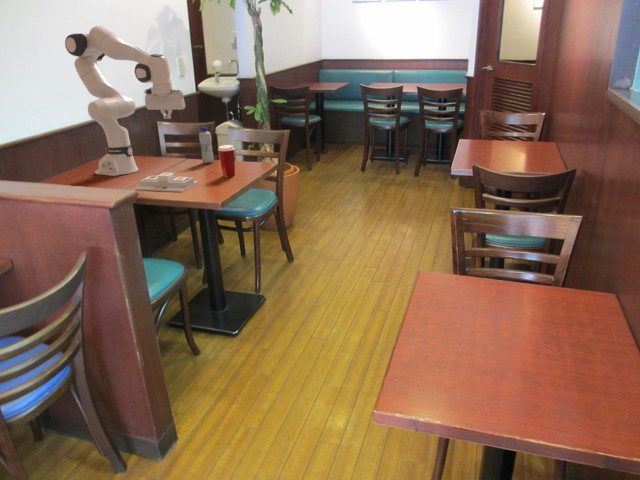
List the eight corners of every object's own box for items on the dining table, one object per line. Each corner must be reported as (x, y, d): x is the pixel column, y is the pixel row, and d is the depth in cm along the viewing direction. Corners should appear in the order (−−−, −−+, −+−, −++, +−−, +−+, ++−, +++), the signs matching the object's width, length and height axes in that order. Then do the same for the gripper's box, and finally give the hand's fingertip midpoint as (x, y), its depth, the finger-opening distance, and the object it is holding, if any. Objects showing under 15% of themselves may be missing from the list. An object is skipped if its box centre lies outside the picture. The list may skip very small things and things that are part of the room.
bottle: (211, 164, 283) (207, 128, 275) (200, 164, 284) (195, 128, 276) (216, 161, 289) (211, 125, 281) (205, 161, 290) (200, 125, 283)
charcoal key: (145, 184, 245) (144, 178, 244) (152, 181, 250) (151, 175, 249) (155, 185, 244) (154, 178, 243) (161, 182, 249) (160, 175, 247)
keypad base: (137, 189, 242) (135, 182, 241) (154, 181, 255) (153, 174, 254) (182, 192, 236) (181, 184, 234) (197, 182, 249) (196, 175, 247)
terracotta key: (173, 185, 241) (172, 179, 240) (179, 182, 246) (178, 176, 245) (183, 186, 240) (182, 179, 239) (189, 183, 245) (188, 176, 243)
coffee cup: (239, 173, 262) (236, 144, 256) (233, 178, 254) (230, 148, 248) (225, 173, 264) (221, 144, 258) (218, 177, 256) (214, 148, 251)
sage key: (158, 181, 242) (157, 175, 241) (164, 178, 247) (163, 172, 246) (168, 182, 241) (167, 175, 240) (175, 178, 246) (174, 172, 245)
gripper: (185, 88, 246) (189, 117, 252) (148, 89, 252) (153, 117, 257) (178, 90, 241) (183, 120, 246) (141, 90, 246) (146, 119, 251)
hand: (167, 118), depth 252 cm, fingers closed
